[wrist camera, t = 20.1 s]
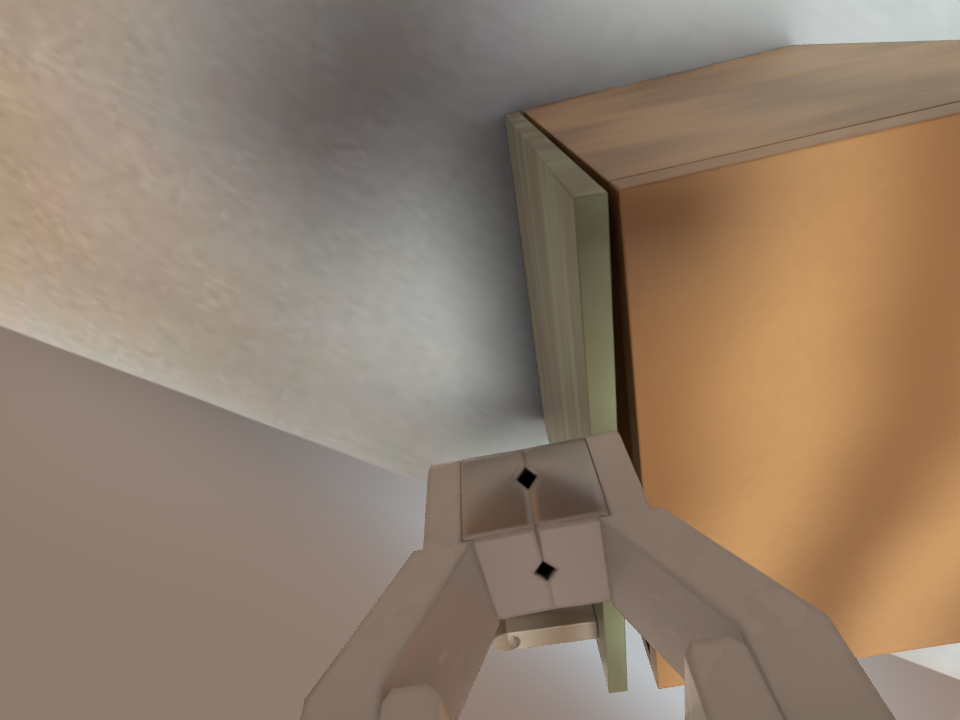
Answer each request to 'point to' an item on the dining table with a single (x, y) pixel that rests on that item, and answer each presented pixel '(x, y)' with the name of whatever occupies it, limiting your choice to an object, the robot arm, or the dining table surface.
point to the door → (567, 349)
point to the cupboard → (794, 318)
